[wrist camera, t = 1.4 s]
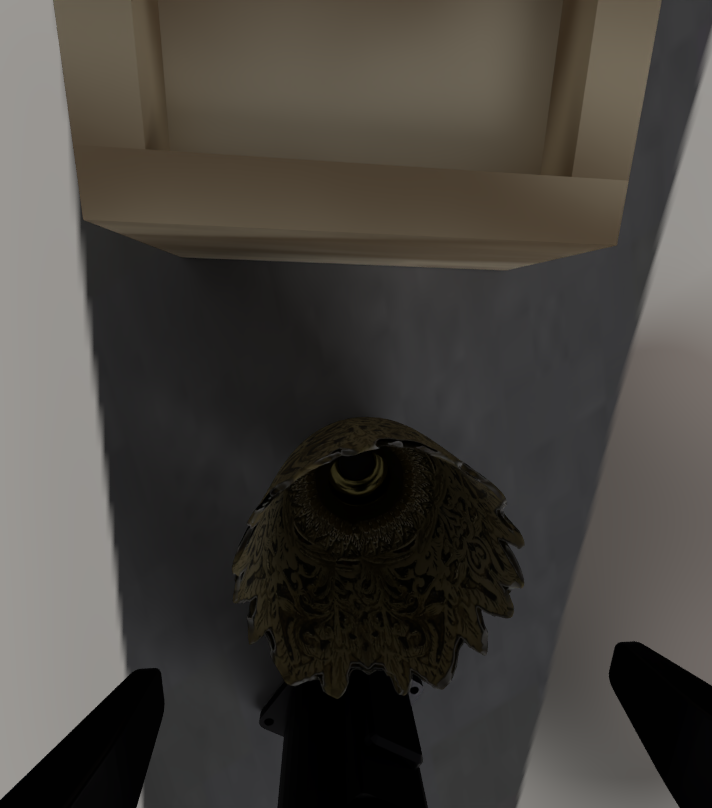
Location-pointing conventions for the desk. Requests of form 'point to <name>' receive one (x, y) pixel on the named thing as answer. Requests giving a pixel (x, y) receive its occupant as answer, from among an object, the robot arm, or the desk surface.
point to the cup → (375, 559)
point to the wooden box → (357, 126)
